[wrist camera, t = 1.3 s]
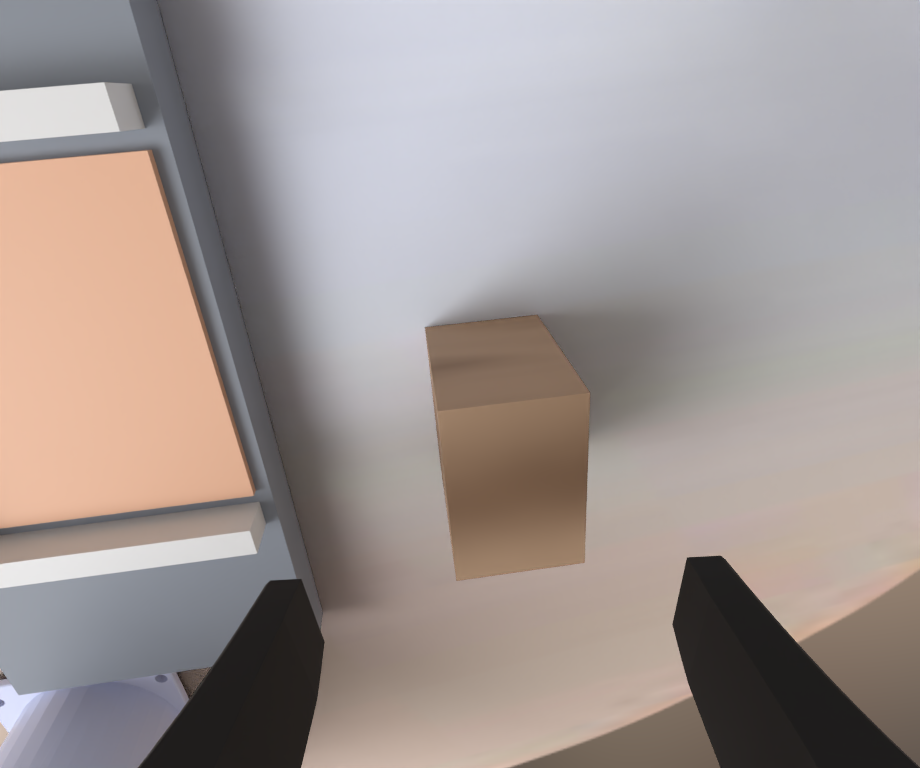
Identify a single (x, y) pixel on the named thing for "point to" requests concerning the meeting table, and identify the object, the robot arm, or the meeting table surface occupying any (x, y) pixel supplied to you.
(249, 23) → the meeting table surface
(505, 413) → the brown rectangular block
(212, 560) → the frame
